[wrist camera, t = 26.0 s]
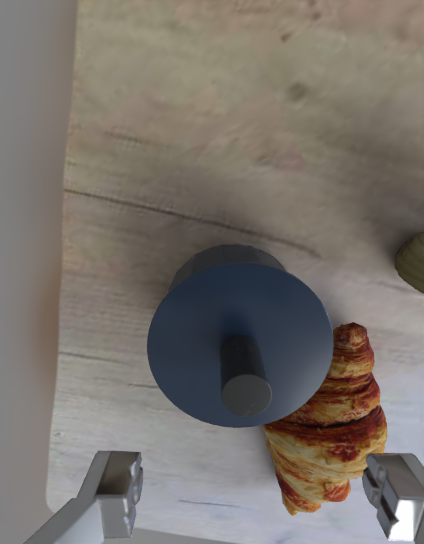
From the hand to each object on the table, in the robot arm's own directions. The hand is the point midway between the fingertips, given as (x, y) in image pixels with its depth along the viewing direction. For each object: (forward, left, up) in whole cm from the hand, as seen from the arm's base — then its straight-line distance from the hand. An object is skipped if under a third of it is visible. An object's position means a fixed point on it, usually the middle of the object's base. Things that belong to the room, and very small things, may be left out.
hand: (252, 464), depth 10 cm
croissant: (+13, +4, -15) cm, 20 cm away
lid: (+1, 0, -9) cm, 9 cm away
